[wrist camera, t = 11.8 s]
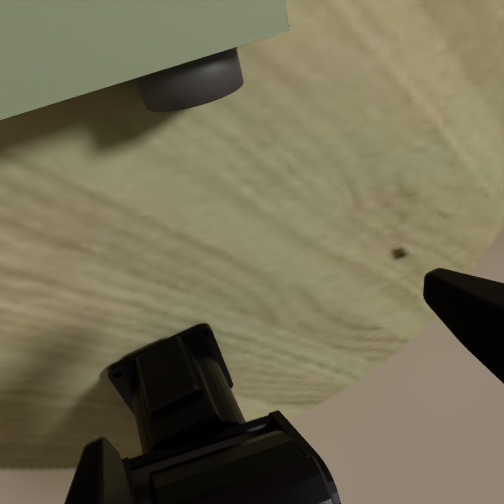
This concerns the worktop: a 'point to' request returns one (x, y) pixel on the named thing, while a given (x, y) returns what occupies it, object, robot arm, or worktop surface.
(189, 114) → the worktop surface
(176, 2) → the block with end pegs
